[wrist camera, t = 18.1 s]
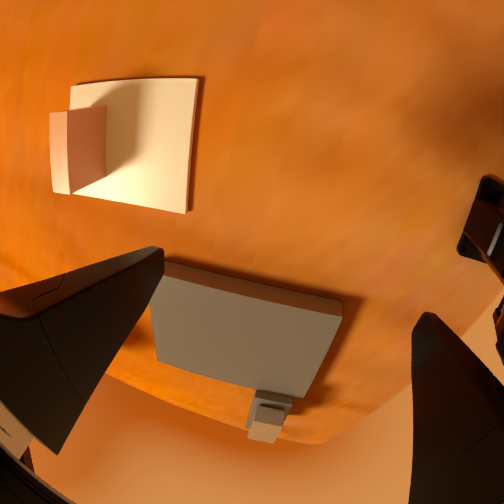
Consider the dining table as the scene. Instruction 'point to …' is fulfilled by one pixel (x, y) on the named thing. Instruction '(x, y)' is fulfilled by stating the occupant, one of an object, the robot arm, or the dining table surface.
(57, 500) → the robot arm
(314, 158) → the dining table surface
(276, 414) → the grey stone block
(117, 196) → the cover
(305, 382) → the case
